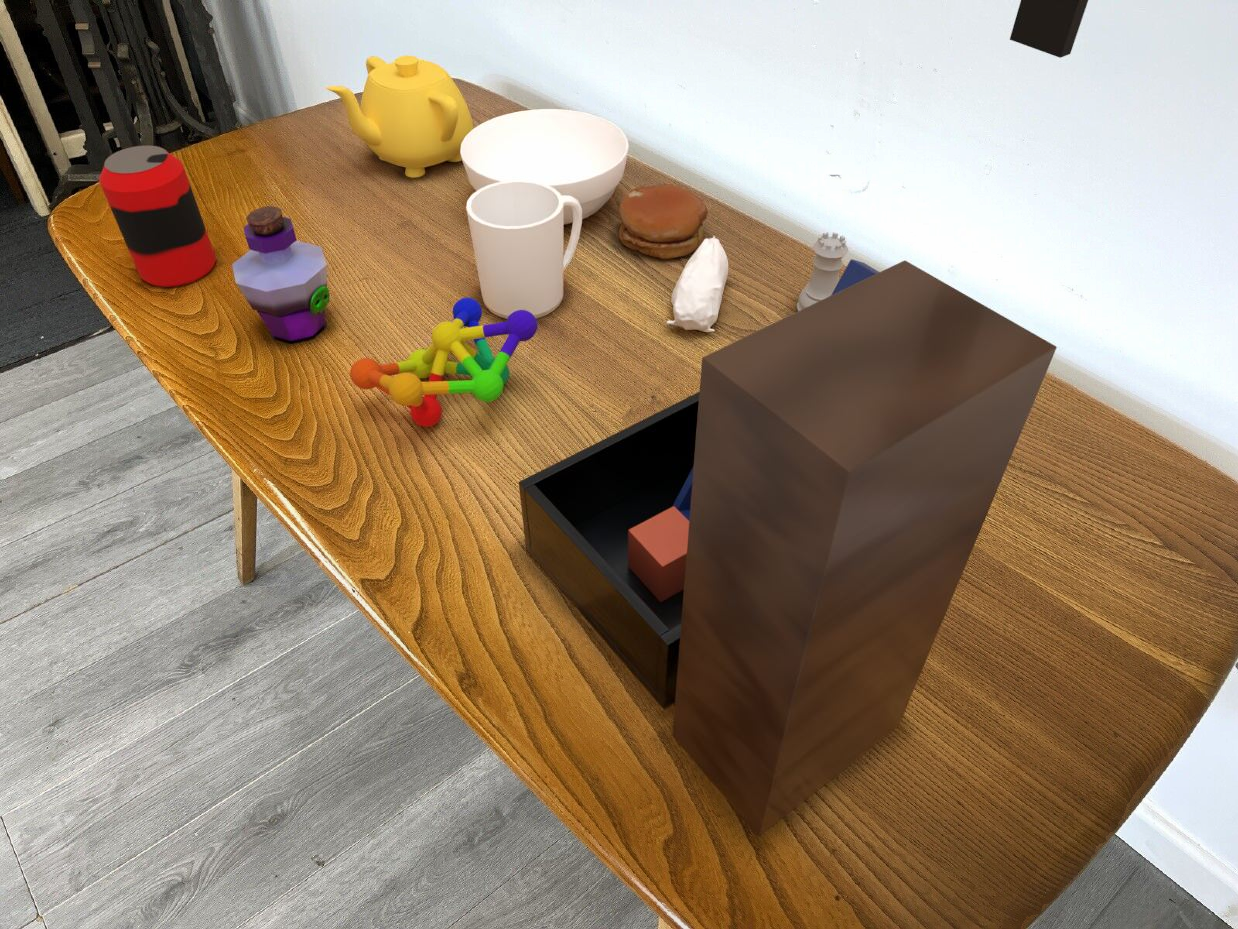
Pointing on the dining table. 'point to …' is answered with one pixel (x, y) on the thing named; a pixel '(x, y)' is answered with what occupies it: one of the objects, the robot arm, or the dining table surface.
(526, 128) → the bowl
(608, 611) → the black square open box
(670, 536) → the block
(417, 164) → the teapot
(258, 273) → the potion bottle
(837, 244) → the rook chess piece
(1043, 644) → the dining table surface
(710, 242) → the white cloth bag
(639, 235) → the burger
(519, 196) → the mug
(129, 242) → the soda can
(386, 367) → the decorative model
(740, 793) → the stand
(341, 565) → the dining table surface
